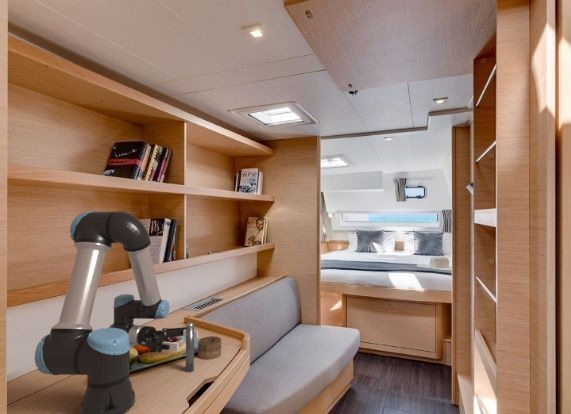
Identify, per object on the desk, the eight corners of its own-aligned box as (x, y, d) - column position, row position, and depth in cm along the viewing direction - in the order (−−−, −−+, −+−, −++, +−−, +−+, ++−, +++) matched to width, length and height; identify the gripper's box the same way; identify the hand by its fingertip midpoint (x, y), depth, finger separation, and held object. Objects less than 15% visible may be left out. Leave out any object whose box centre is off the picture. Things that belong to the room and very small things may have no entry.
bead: (214, 360, 133) (214, 346, 133) (193, 357, 136) (193, 343, 136) (224, 351, 142) (224, 337, 143) (205, 348, 145) (205, 335, 145)
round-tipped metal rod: (191, 372, 123) (191, 323, 124) (184, 371, 124) (184, 323, 124) (195, 369, 126) (195, 321, 126) (188, 368, 127) (188, 320, 127)
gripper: (162, 334, 144) (204, 338, 138) (119, 357, 120) (168, 364, 114) (162, 317, 144) (204, 321, 139) (119, 337, 120) (168, 342, 115)
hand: (188, 340), depth 126 cm, fingers open, 13 cm apart
